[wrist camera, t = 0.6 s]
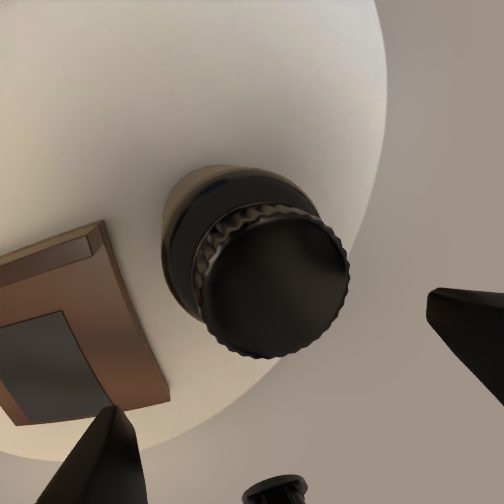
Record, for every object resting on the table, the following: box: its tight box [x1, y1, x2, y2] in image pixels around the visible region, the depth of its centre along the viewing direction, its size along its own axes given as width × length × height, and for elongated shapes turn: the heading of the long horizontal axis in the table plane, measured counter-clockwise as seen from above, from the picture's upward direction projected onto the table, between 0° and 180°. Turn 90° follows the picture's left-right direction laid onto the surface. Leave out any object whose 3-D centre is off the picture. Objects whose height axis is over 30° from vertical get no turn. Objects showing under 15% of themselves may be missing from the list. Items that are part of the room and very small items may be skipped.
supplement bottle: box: [161, 165, 350, 359], centre depth 14 cm, size 7×7×12 cm
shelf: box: [0, 220, 170, 426], centre depth 16 cm, size 14×16×4 cm
